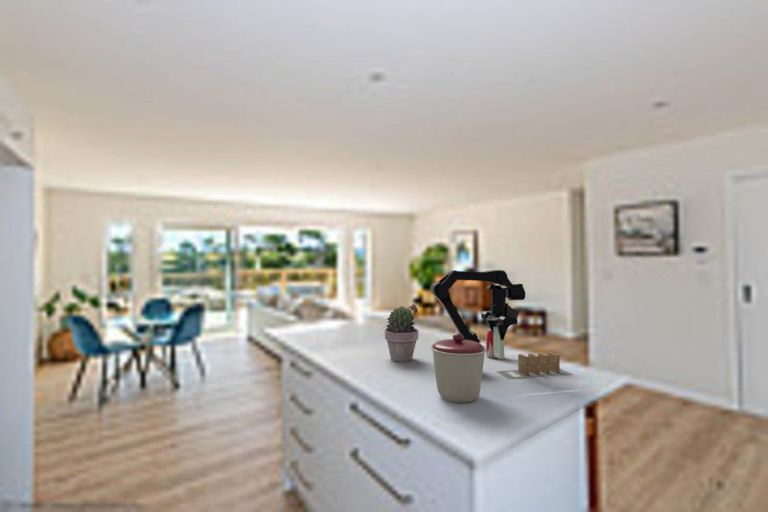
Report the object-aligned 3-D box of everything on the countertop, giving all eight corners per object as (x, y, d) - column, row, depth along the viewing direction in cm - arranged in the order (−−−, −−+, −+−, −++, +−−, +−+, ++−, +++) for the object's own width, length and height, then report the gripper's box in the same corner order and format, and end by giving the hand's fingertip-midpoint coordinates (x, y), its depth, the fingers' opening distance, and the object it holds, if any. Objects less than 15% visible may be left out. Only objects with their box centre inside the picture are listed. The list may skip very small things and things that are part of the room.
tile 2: (525, 375, 143) (525, 357, 144) (518, 371, 148) (518, 354, 148) (529, 375, 144) (529, 357, 144) (521, 371, 149) (521, 354, 149)
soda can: (503, 356, 174) (503, 328, 174) (499, 359, 168) (499, 331, 168) (488, 354, 178) (488, 327, 178) (484, 357, 172) (483, 329, 172)
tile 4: (546, 374, 145) (545, 356, 145) (538, 370, 150) (538, 353, 150) (549, 373, 146) (549, 356, 146) (541, 370, 151) (541, 352, 151)
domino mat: (508, 380, 139) (508, 379, 139) (495, 372, 149) (495, 371, 149) (573, 375, 145) (573, 374, 145) (556, 368, 155) (556, 366, 155)
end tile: (556, 373, 146) (556, 355, 146) (547, 369, 151) (547, 352, 151) (559, 373, 147) (559, 355, 147) (551, 369, 152) (551, 352, 152)
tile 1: (499, 358, 149) (499, 328, 149) (493, 355, 154) (493, 326, 154) (504, 358, 149) (504, 328, 150) (497, 355, 154) (497, 326, 154)
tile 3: (535, 374, 144) (535, 356, 144) (528, 371, 149) (528, 353, 149) (539, 374, 145) (539, 356, 145) (531, 370, 150) (531, 353, 150)
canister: (448, 384, 135) (447, 326, 135) (495, 395, 123) (495, 332, 124) (420, 398, 121) (420, 334, 121) (471, 413, 109) (471, 341, 110)
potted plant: (372, 356, 173) (372, 303, 174) (408, 352, 182) (408, 301, 182) (388, 366, 157) (388, 307, 157) (428, 361, 165) (428, 305, 166)
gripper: (529, 302, 145) (529, 342, 144) (503, 297, 163) (504, 333, 163) (503, 303, 142) (504, 344, 142) (480, 298, 160) (480, 334, 160)
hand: (498, 338), depth 152 cm, fingers closed on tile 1, 5 cm apart
